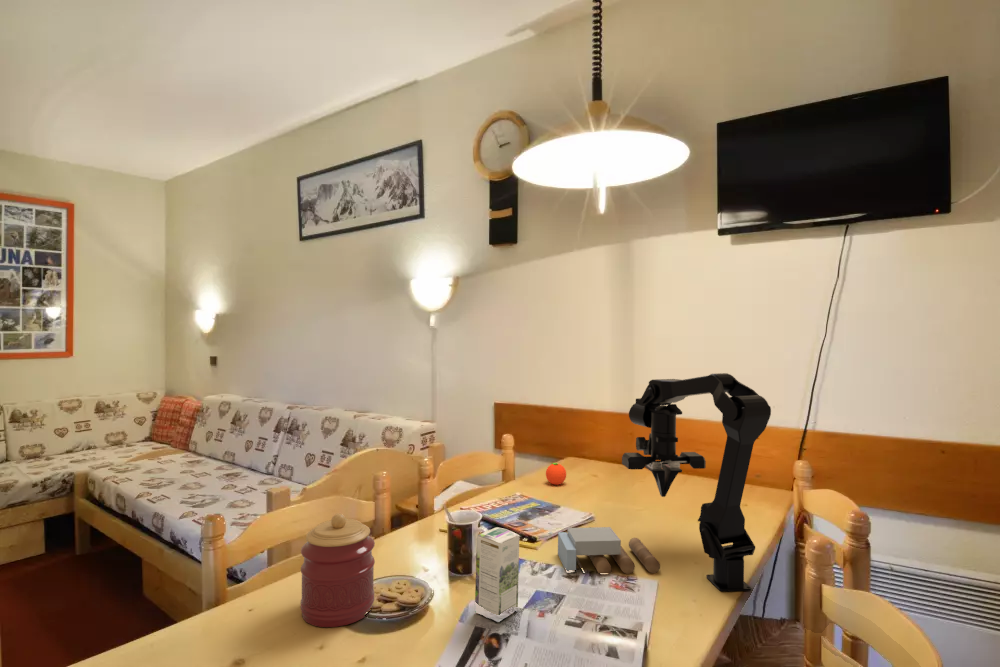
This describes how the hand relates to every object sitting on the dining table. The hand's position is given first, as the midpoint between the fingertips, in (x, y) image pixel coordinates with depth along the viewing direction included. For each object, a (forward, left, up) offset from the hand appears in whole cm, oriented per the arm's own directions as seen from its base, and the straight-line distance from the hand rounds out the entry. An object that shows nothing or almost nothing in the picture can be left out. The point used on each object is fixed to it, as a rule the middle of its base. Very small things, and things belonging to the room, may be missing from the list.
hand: (662, 496), depth 130 cm
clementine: (+54, +16, -12) cm, 58 cm away
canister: (-25, +71, -12) cm, 76 cm away
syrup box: (-28, +42, -12) cm, 52 cm away
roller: (-8, +19, -12) cm, 24 cm away
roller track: (-8, +14, -12) cm, 20 cm away
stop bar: (-8, +25, -12) cm, 29 cm away
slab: (-8, +19, -9) cm, 22 cm away
